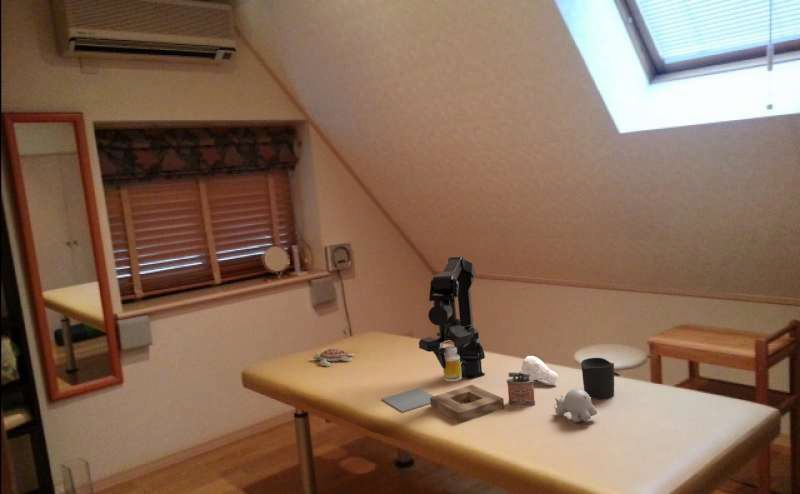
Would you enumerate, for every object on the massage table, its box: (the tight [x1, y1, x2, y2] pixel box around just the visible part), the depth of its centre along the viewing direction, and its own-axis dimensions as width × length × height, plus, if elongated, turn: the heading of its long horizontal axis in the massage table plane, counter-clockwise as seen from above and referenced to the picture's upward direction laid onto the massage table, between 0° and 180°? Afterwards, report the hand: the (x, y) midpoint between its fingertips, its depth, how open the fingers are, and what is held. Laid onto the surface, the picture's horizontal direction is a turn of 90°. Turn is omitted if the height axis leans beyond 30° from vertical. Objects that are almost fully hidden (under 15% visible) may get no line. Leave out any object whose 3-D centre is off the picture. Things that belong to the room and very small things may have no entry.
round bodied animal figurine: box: [553, 388, 598, 423], centre depth 168 cm, size 7×12×8 cm, turn 41°
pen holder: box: [580, 357, 615, 400], centre depth 182 cm, size 9×9×10 cm
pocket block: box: [430, 384, 505, 424], centre depth 182 cm, size 16×16×3 cm
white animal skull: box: [521, 355, 559, 386], centre depth 196 cm, size 6×8×12 cm
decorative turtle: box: [312, 348, 355, 367], centre depth 244 cm, size 18×17×5 cm
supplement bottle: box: [442, 345, 463, 382], centre depth 183 cm, size 5×5×10 cm
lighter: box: [506, 370, 536, 407], centre depth 181 cm, size 8×3×10 cm, turn 71°
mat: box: [381, 387, 434, 414], centre depth 193 cm, size 14×14×1 cm
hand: (451, 365), depth 183 cm, fingers closed on supplement bottle, 5 cm apart
